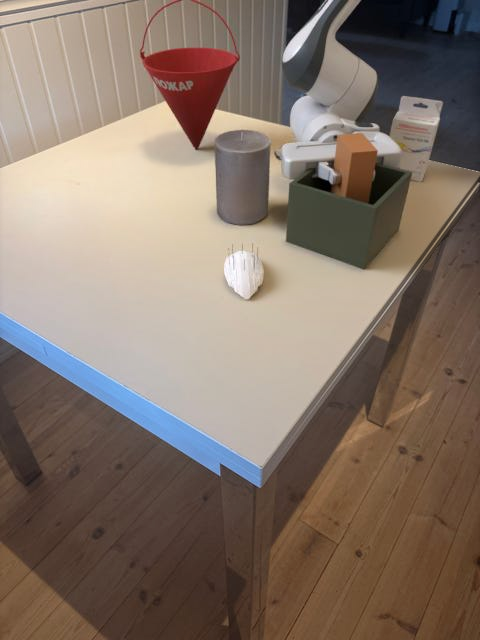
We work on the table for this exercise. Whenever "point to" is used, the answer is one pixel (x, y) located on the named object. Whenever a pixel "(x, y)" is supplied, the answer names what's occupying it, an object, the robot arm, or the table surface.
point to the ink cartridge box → (415, 133)
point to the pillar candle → (242, 176)
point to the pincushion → (244, 272)
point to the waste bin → (346, 216)
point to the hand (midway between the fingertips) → (353, 178)
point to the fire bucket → (191, 81)
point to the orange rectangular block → (354, 166)
